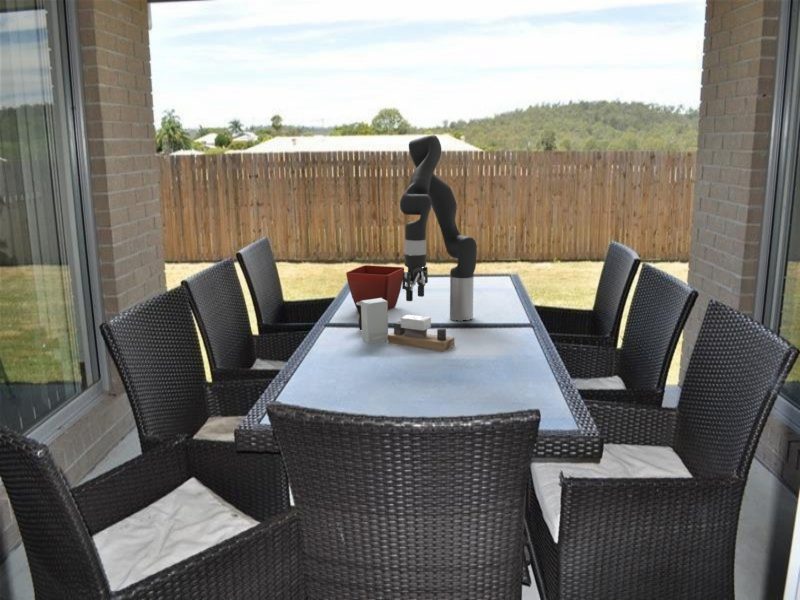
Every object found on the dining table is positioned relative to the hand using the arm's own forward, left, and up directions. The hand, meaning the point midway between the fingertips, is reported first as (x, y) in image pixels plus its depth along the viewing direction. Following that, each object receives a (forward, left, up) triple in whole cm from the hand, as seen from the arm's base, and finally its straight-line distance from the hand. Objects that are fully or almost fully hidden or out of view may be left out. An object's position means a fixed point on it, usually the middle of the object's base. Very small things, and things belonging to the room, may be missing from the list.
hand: (415, 298), depth 259 cm
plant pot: (-40, -40, -17) cm, 59 cm away
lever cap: (0, 0, -10) cm, 10 cm away
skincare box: (+3, -15, -17) cm, 22 cm away
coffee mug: (-11, -26, -17) cm, 32 cm away
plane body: (0, +2, -16) cm, 16 cm away
